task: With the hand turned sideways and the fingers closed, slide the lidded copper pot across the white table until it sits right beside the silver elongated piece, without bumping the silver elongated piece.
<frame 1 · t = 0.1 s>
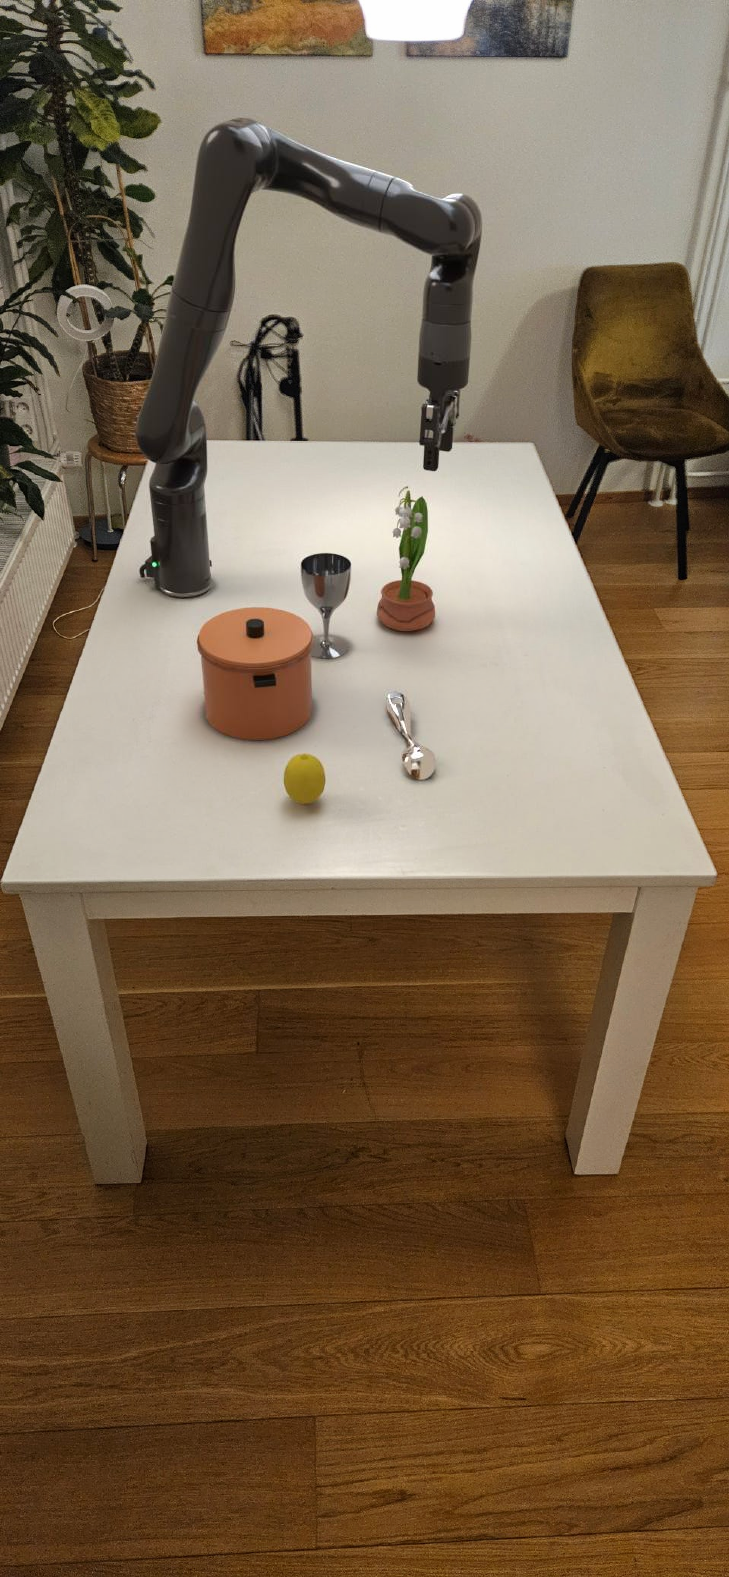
hand: (437, 460, 169), 29 cm above the table, tool pointing down, fingers open, 8 cm apart
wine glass: (326, 648, 181), on the table
lemon: (304, 804, 148), on the table
potted flower: (404, 625, 188), on the table
copper pot: (258, 710, 166), on the table
silver elongated piece: (407, 740, 161), on the table
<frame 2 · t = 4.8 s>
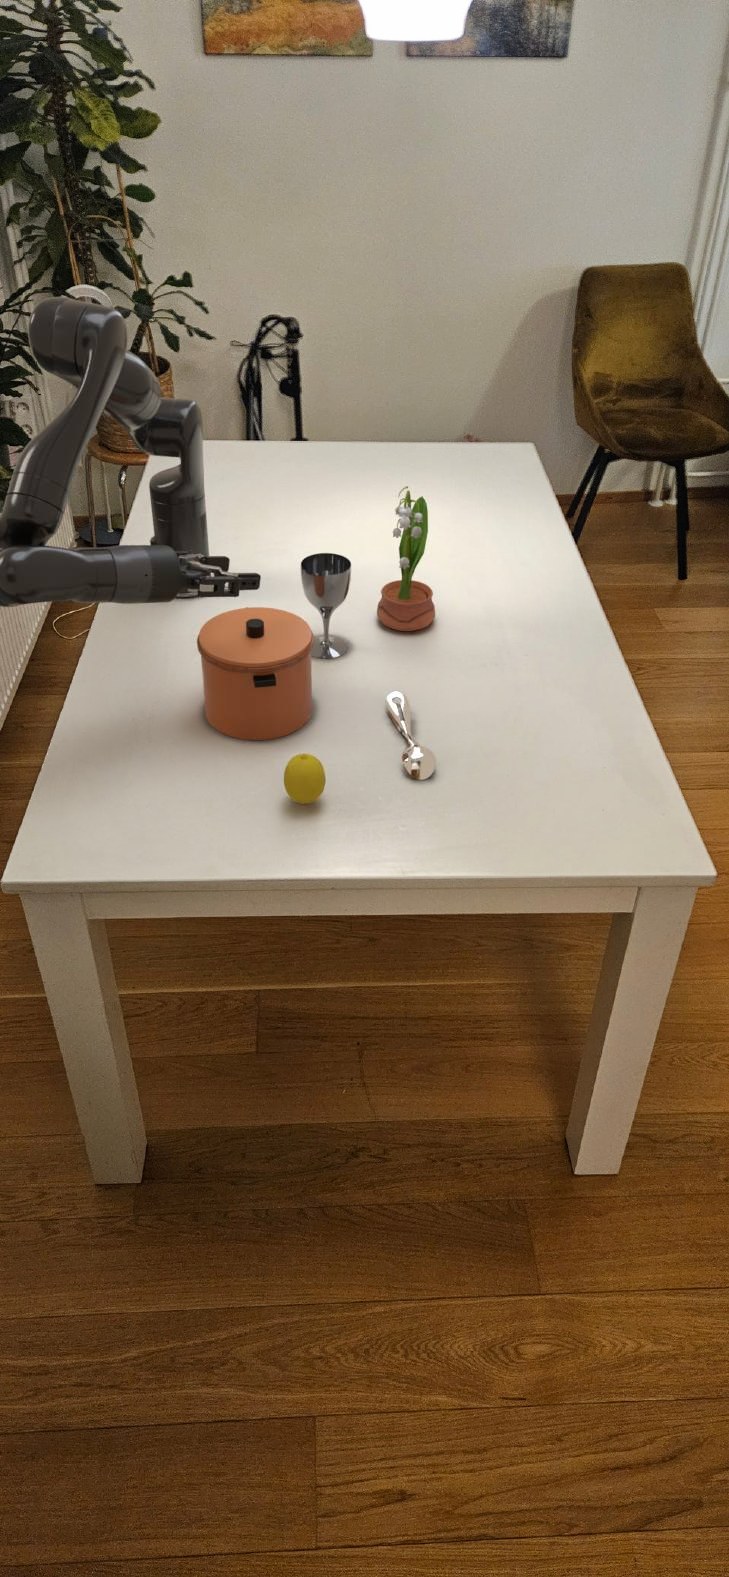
hand: (243, 572, 154), 22 cm above the table, tool horizontal, fingers open, 8 cm apart
nothing on the table moved.
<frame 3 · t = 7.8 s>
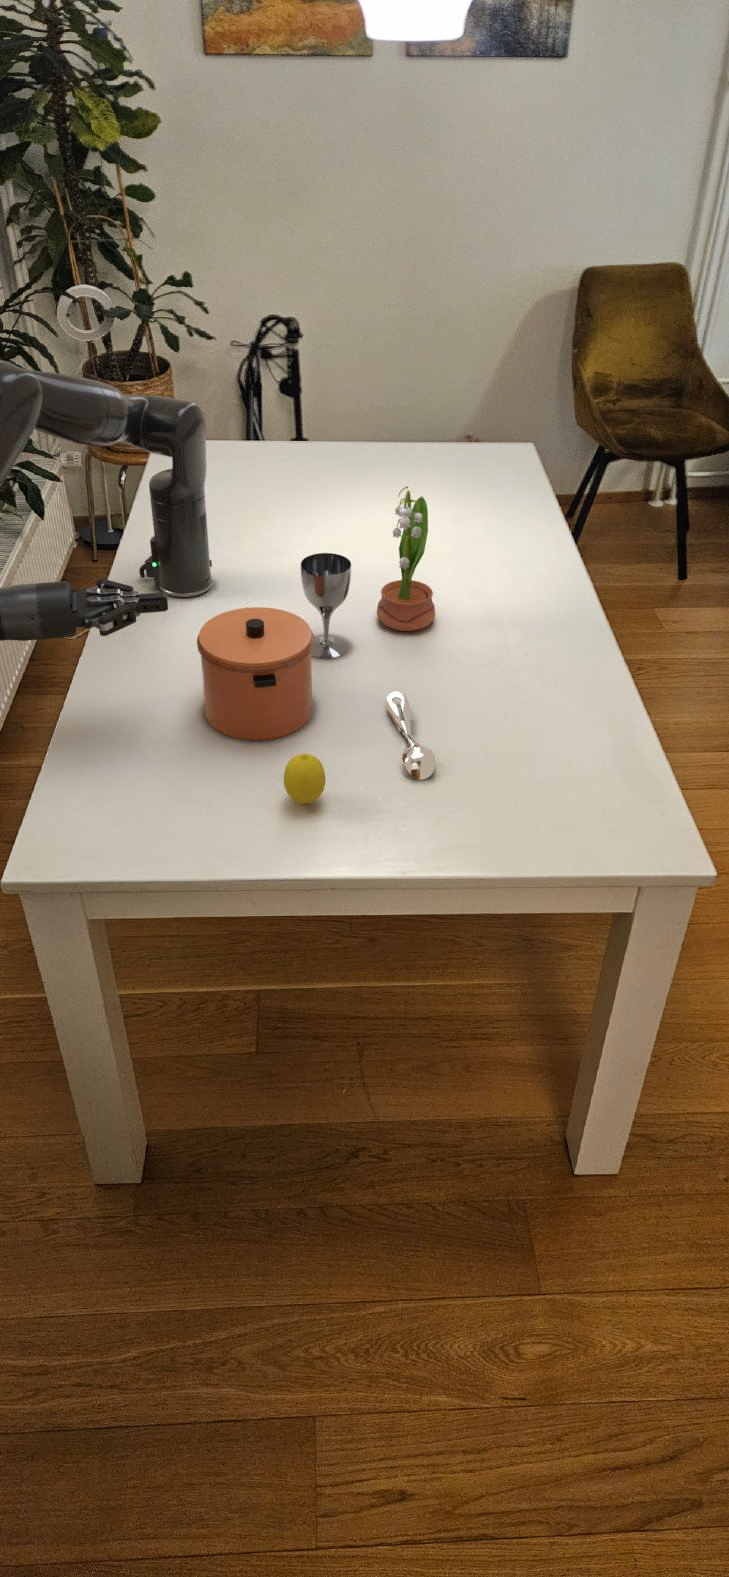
hand: (167, 601, 152), 19 cm above the table, tool horizontal, fingers closed
nothing on the table moved.
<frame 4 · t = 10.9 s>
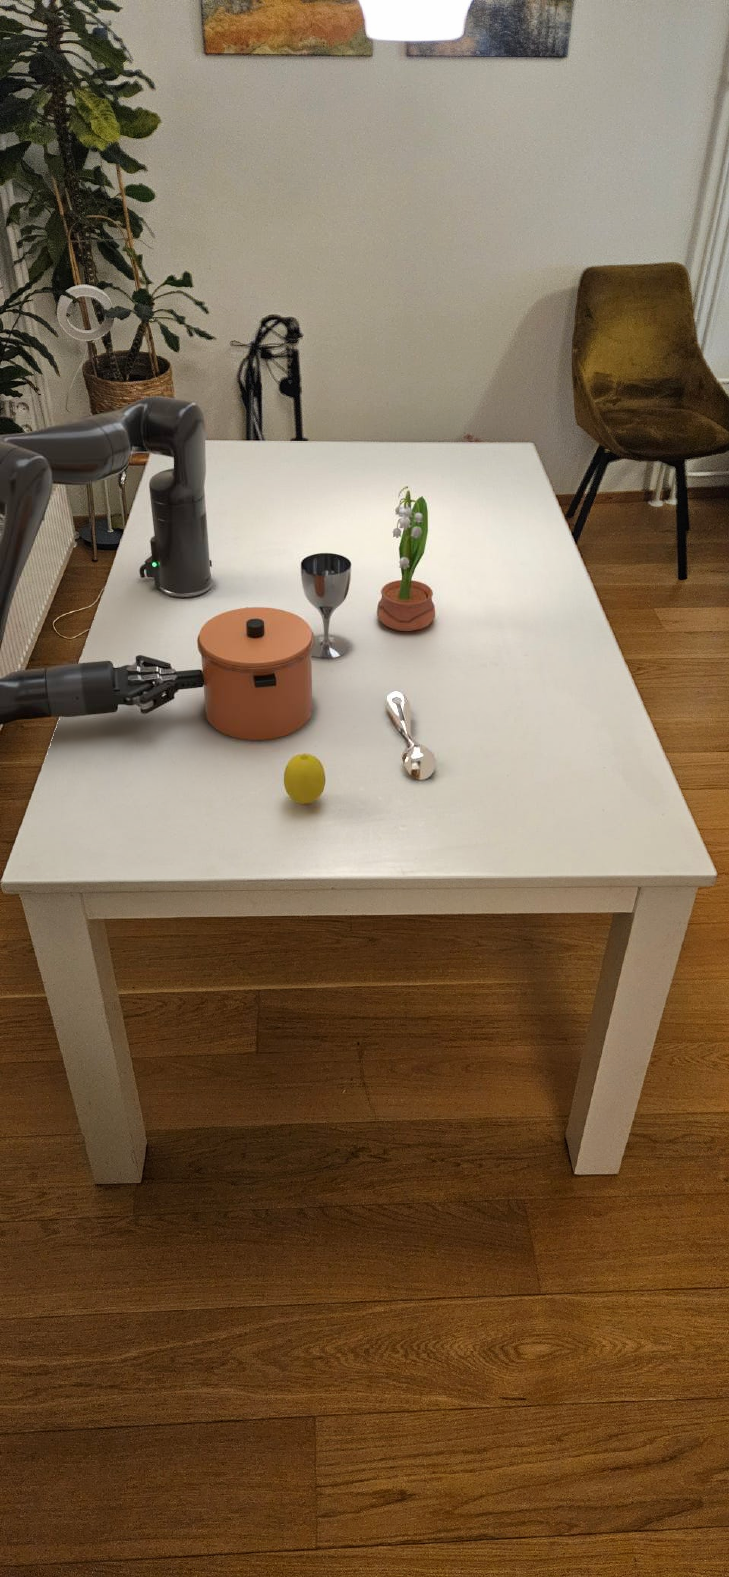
hand: (202, 678, 160), 7 cm above the table, tool horizontal, fingers closed
copper pot: (259, 710, 166), on the table, touching gripper
everything else where it was.
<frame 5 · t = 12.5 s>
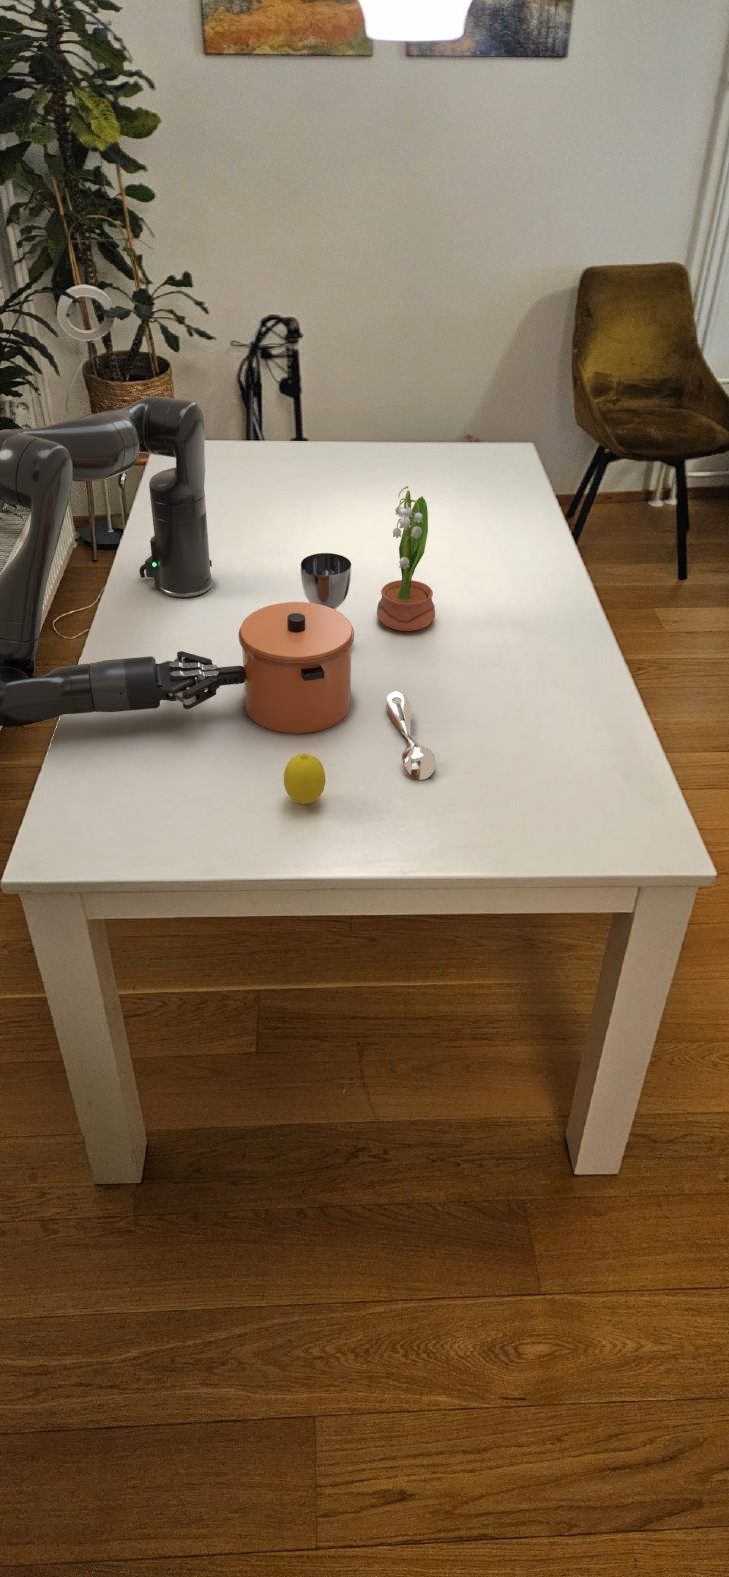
hand: (244, 674, 161), 7 cm above the table, tool horizontal, fingers closed
copper pot: (297, 703, 167), on the table, touching gripper
everything else where it was.
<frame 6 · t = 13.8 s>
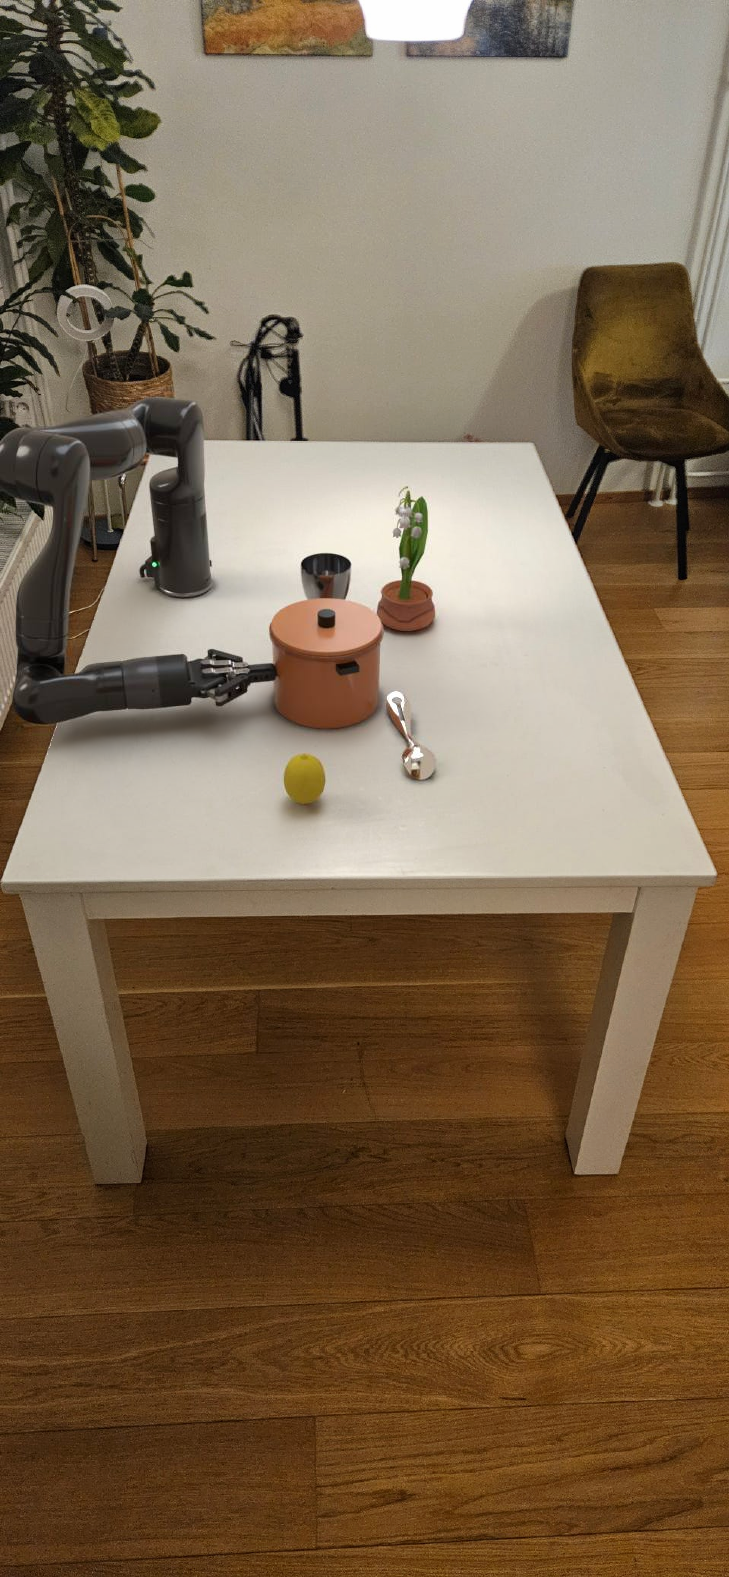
hand: (274, 671, 162), 7 cm above the table, tool horizontal, fingers closed
copper pot: (326, 699, 169), on the table, touching gripper
everything else where it was.
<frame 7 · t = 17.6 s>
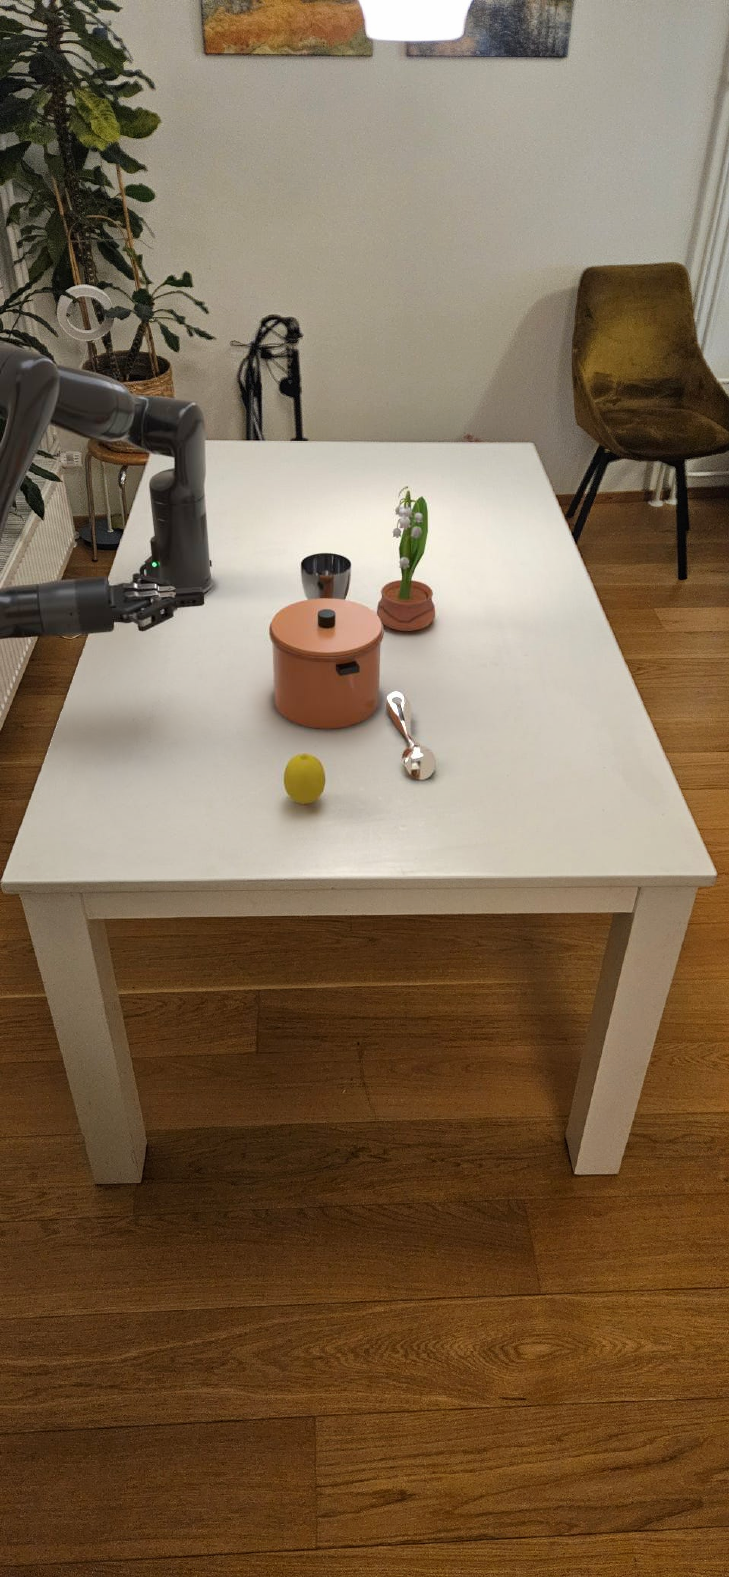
hand: (203, 596, 153), 20 cm above the table, tool horizontal, fingers closed
copper pot: (326, 699, 169), on the table
everything else where it was.
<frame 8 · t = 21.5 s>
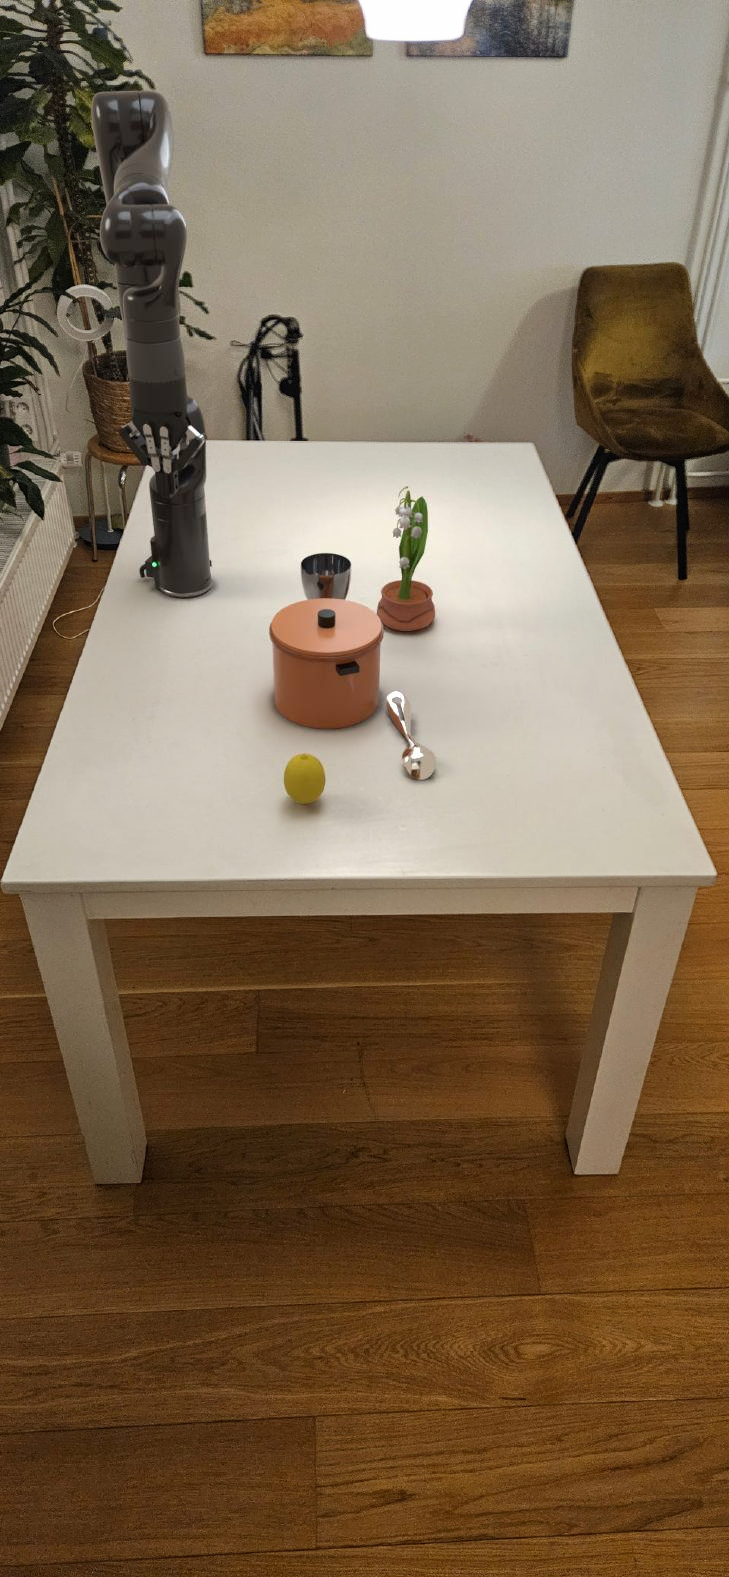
hand: (168, 495, 157), 29 cm above the table, tool pointing down, fingers closed
nothing on the table moved.
at the end: copper pot 16.0 cm from the silver elongated piece (horizontally); copper pot tilted 0°; silver elongated piece moved 0.2 cm from its start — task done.
